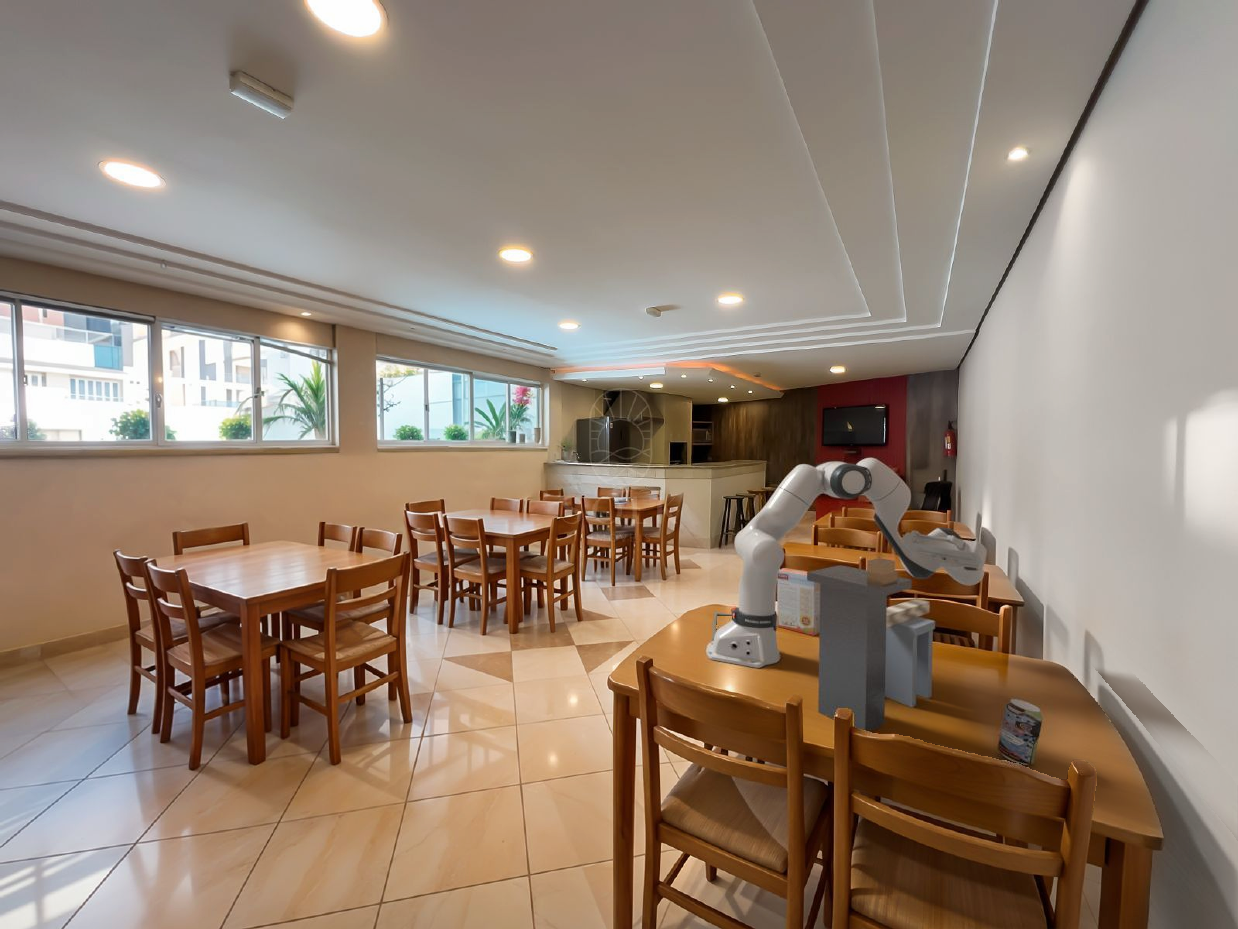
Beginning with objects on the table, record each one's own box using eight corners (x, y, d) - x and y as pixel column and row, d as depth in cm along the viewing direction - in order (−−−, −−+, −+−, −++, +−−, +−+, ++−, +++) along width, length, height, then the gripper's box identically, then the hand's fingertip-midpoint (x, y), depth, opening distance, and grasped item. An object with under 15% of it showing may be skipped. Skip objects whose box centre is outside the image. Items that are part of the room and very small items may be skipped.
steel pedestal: (838, 693, 135) (840, 546, 134) (908, 723, 121) (911, 558, 119) (805, 708, 128) (807, 551, 126) (875, 742, 113) (878, 565, 112)
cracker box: (821, 632, 181) (822, 573, 180) (813, 637, 176) (814, 576, 176) (784, 622, 191) (785, 566, 190) (776, 626, 186) (777, 569, 186)
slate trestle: (887, 680, 143) (888, 609, 143) (933, 697, 133) (935, 621, 133) (867, 689, 138) (868, 615, 137) (913, 708, 128) (915, 628, 127)
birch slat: (916, 609, 143) (916, 598, 142) (929, 612, 140) (929, 601, 140) (871, 624, 130) (872, 612, 130) (885, 628, 127) (885, 616, 127)
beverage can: (990, 752, 109) (991, 696, 109) (1022, 750, 110) (1023, 695, 110) (1015, 770, 103) (1016, 711, 103) (1049, 768, 104) (1051, 710, 103)
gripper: (916, 540, 159) (896, 520, 152) (993, 550, 142) (975, 529, 135) (911, 558, 157) (890, 540, 151) (988, 572, 140) (969, 551, 134)
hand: (931, 535), depth 143 cm, fingers open, 8 cm apart
